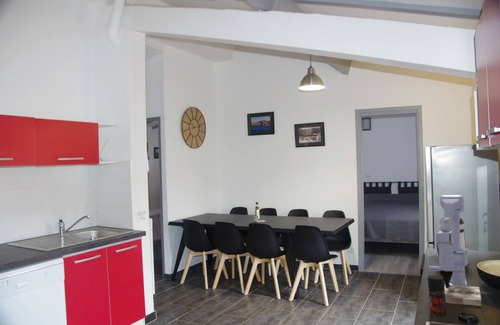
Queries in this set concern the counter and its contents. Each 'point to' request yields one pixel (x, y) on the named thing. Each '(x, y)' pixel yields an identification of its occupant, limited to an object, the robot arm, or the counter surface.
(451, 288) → the ball
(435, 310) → the spice jar
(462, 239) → the coffee press
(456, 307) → the counter surface
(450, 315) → the counter surface
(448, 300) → the block
